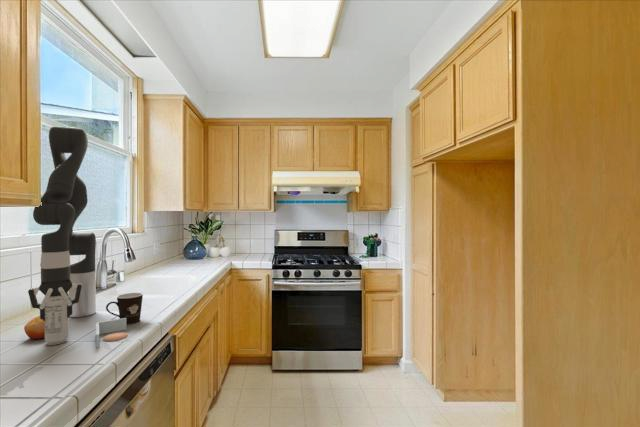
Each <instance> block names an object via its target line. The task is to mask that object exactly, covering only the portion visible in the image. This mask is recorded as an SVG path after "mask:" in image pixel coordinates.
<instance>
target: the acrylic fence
mask: <svg viewBox="0 0 640 427" xmlns="http://www.w3.org/2000/svg"><path fill="white" fill-rule="evenodd" d="M95 325H96V326H95V332H96V333H95V334H96V335H95V338H96V339H95V340H96V342H95V343H96V349H97V348H100V335H102V334H107V333H109V334H110V333H116V332H120V331H126V330H127V325H126V318H121V319H120V318H116V319H110V320H109V319H108V320H103V321H97V322H95Z"/></svg>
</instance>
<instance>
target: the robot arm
mask: <svg viewBox="0 0 640 427" xmlns="http://www.w3.org/2000/svg"><path fill="white" fill-rule="evenodd" d="M49 128H50V129H49V131H48V142H49V143H48V144H49V146H50V153H51V157H52V162H53V168H54V170H53V171H52V172H51V174H50V175H49V177H48V182H47V186H46V189H45V192H44V193H43V194H42V196H41V198H40V199H41V202H42V206H41V205H40V206H39V207H35V206H34V208H33V211H32V213H33V214H32V217H33V221H35V223H37V224H38V225H41V226H59V228H58V229H57V230H56V231H51V232H47V233H44V234H42V236H41V238H40V242H41V243H40V244H41V254H40V264H39V266H40V285H39V286H37V287H34V288H33V287H31V288H30V289H28V291H27V293H28V296H29V300H30V304H31V308H32V309H39V316H40V319H43V321H45V302H47V301H48V299H49V297H51V296H60V295H62V297H63V298H64V299H65V300H67V305H68V306H67V318H68V319H69V318H81V317H88V316H91V315H94V314H96V313H97V312H96V311H97V310H96V309H97V298H96V297H97V296H96V295H97V293H96V287H97V286H96V248H97V247H96V245H97V238H96V235H95V233H94V232H93V231H84V232H83V231H80V232H79V231H78V232H77V231H76V232H75V231H73V229H74V226H75V223H76V221H77V219H79V217H80V216H81V215H82V213H83V211H84V210H85V208H86V207H87V205H88V191H87V189H88V188H87V186H86V184H85V182H84V181H83V180H82V178H81V177H80V176H79V174H78V173H79V170H80V168H81V165H82V164H83V160H84V159H85V155H86V152H87V151H88V146H89V139H88V134H87V131H85V129H83V128H79V127H70V126H69V127H68V126H59V125H58V126H51V127H49ZM66 154H70V155H69V157H66ZM71 256H85V258H83V259H82V260H80V261H78V262H76V263H72V264H71ZM39 291H40V292H41V294H42V295H44V297H43V300H42V301H41V302H40V303H38V300H37V295H38V293H39Z"/></svg>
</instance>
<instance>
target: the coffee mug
mask: <svg viewBox="0 0 640 427" xmlns="http://www.w3.org/2000/svg"><path fill="white" fill-rule="evenodd" d="M143 294H144V293H142V292H129V293H123V294H119V295H117V296H116V300H117V301H110V302H109V303H107V304H106V306H105V311H107V312H108V313H109V314H110V315H113V316H116V317H118V319H121V318H126V326H127V325H135V324H136V323H140V321H141V314H142V313H141V312H142V306H143V305H142V304H143V296H144V295H143ZM111 304H115V305H116V306H117V307H118V314H117V313H114V312H112V311H110V309H109V306H110V305H111Z"/></svg>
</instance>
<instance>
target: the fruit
mask: <svg viewBox="0 0 640 427" xmlns="http://www.w3.org/2000/svg"><path fill="white" fill-rule="evenodd" d="M23 330H24V333H25V334H26V336H27V337H28V338H29V339H31V340H41V339H45V321H43V319H40V315H38V316H36V317H33V318H32V319H30V320H29V321H28V322H26V324H25V325H24V327H23Z"/></svg>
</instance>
